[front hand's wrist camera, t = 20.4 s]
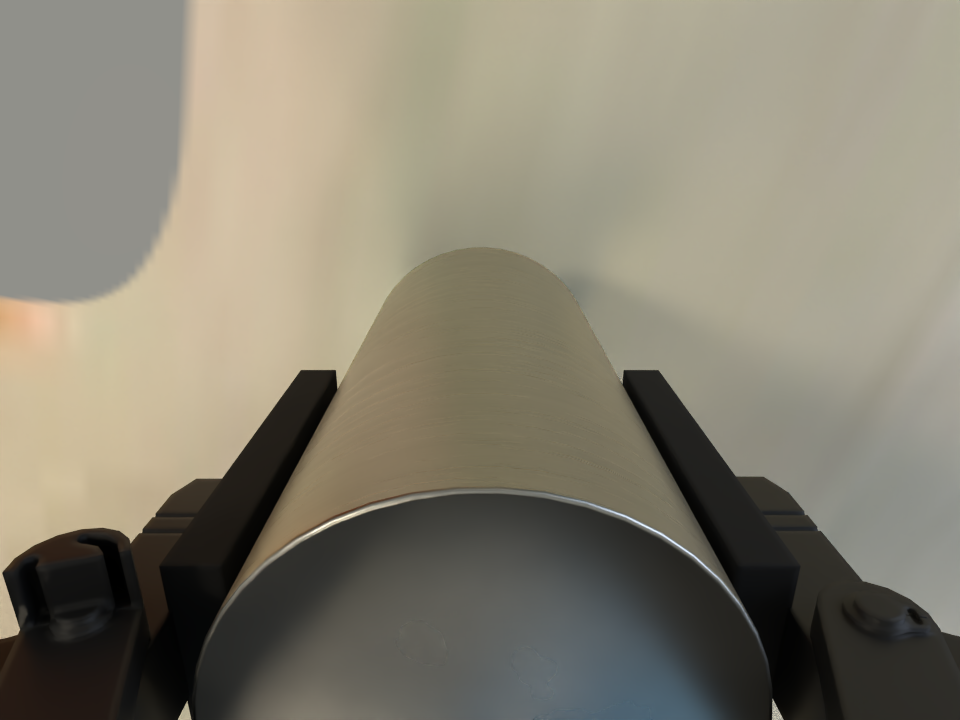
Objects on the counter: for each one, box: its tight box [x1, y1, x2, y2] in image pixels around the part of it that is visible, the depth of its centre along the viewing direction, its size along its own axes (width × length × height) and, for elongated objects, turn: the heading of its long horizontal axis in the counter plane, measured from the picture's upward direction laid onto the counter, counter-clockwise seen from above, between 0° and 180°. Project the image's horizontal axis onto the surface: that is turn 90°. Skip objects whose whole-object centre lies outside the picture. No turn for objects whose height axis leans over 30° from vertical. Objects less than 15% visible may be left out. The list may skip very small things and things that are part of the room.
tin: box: [192, 248, 772, 720], centre depth 13 cm, size 6×6×12 cm
